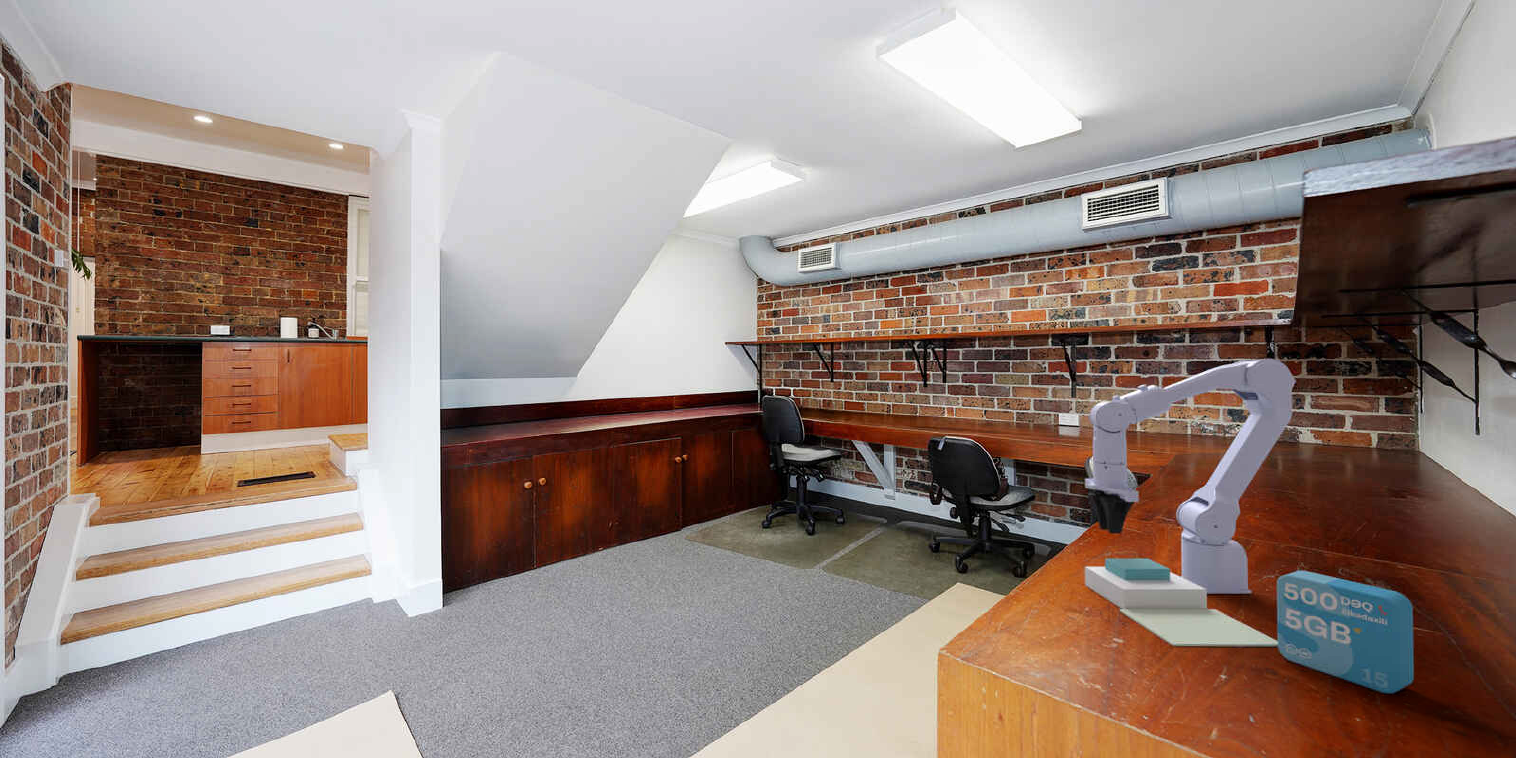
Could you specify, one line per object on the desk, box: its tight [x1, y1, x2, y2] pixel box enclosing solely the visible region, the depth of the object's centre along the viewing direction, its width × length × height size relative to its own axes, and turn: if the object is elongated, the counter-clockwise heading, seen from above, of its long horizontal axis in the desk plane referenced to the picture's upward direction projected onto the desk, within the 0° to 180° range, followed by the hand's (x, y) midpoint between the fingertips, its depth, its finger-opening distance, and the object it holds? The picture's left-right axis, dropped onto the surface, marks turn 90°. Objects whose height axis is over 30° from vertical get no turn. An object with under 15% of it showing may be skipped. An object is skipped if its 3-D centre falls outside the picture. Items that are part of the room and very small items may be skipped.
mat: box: [1119, 608, 1278, 647], centre depth 90 cm, size 16×13×1 cm
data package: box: [1276, 570, 1415, 694], centre depth 76 cm, size 12×4×12 cm, turn 26°
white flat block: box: [1084, 566, 1208, 609], centre depth 104 cm, size 14×12×4 cm
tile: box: [1104, 558, 1171, 580], centre depth 105 cm, size 8×6×2 cm
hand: (1110, 531), depth 113 cm, fingers open, 2 cm apart
